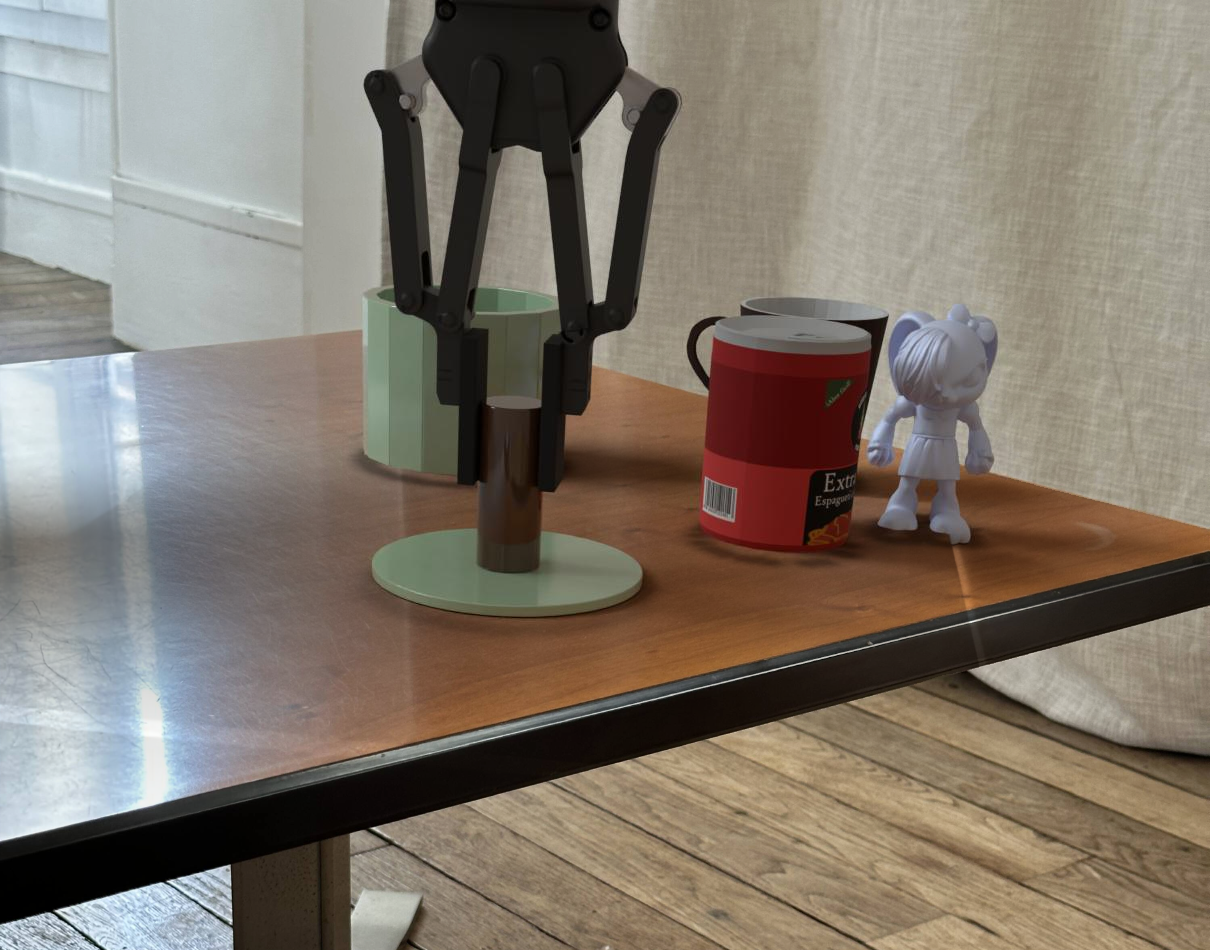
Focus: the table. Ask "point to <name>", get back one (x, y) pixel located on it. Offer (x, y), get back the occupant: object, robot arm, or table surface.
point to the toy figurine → (936, 412)
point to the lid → (507, 540)
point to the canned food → (783, 432)
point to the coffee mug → (805, 308)
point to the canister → (407, 372)
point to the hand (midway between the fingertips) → (510, 480)
